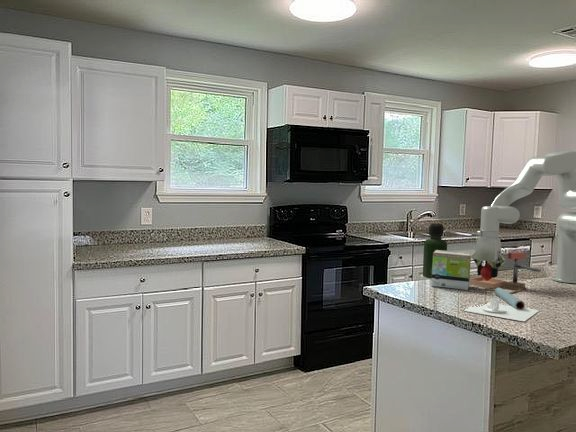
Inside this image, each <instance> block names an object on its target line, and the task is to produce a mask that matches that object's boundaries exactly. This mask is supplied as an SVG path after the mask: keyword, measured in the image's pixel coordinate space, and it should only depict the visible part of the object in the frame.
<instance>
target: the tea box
mask: <svg viewBox="0 0 576 432" xmlns="http://www.w3.org/2000/svg"><path fill="white" fill-rule="evenodd" d="M471 256H472V252H464V251H456V250H455V251H454V250H453V251H452V250H447V251H443V250H435V252H434V253H433V263H432V279H431V278H430V279H431V283H430V285H431V287H439V288H447V289H454V290H455V289H456V290H462V291H468V290H469V288H470V287H469V286H470V284H469V279H470V278H471V277H470V276H471V260H472V258H471Z"/></svg>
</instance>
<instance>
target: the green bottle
mask: <svg viewBox="0 0 576 432" xmlns="http://www.w3.org/2000/svg"><path fill="white" fill-rule="evenodd" d="M444 232H445V227H444V224H443V223H436V222H435V223H434V222H431V223H430V224H429V226H428V236H429V237H430V238H427V239H426V240H424V243H423V260H422V261H423V262H422V276H423V277H424V278H427V279H432V263H433V253H434V252H435V250H443V251H448V243H447V241H446V240H445V239H442V237H444Z"/></svg>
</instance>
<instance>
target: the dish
mask: <svg viewBox="0 0 576 432" xmlns="http://www.w3.org/2000/svg"><path fill="white" fill-rule="evenodd" d="M505 282H508V280H505V279H504V280H503V279H499V278H493V277H492V278H491V279H490V280H488V281H486V280H485V279H484V278H483V277H482V276H481V275H480V276H476V277H470V279H469V286H477V287H480V288H481V287H482V288H488V287H492V289H493V290H495V289H496V288H500V287H499V286H503V287H504V285H505Z"/></svg>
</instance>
